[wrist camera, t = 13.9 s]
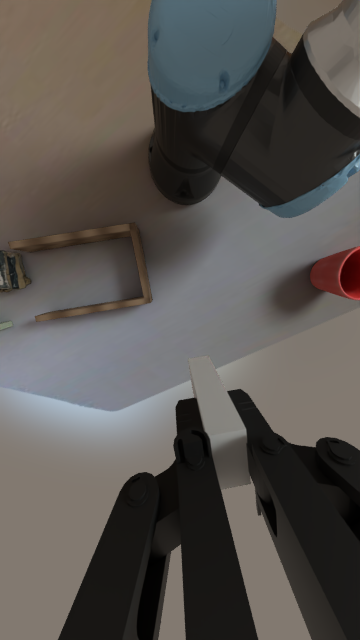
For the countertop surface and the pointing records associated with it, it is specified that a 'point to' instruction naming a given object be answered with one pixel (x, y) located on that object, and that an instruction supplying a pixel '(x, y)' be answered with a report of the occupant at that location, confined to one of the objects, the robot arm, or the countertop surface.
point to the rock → (12, 272)
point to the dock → (5, 325)
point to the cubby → (89, 237)
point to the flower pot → (339, 274)
